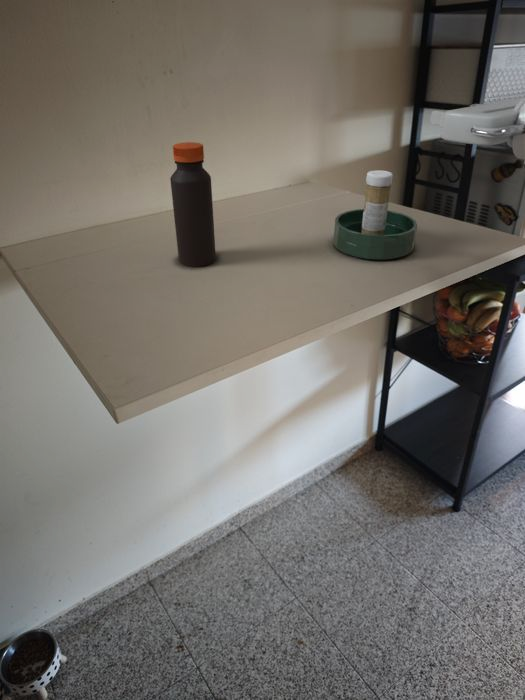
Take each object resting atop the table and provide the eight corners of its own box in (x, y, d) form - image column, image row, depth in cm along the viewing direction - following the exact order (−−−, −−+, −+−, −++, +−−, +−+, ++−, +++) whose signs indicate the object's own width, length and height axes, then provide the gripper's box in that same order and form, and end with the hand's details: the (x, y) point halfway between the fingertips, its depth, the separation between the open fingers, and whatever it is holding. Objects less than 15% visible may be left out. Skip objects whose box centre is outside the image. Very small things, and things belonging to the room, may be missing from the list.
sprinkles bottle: (366, 238, 99) (374, 168, 91) (387, 243, 97) (397, 171, 89) (355, 245, 96) (362, 173, 88) (376, 250, 94) (386, 177, 86)
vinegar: (223, 260, 92) (217, 145, 81) (193, 271, 88) (182, 151, 77) (201, 250, 96) (192, 139, 85) (171, 259, 92) (158, 145, 81)
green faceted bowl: (393, 230, 104) (397, 206, 101) (426, 258, 92) (431, 232, 89) (323, 235, 102) (325, 211, 99) (347, 265, 89) (350, 238, 87)
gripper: (494, 162, 62) (405, 144, 72) (570, 141, 73) (484, 128, 82) (507, 107, 59) (412, 95, 68) (586, 93, 69) (494, 85, 78)
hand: (452, 113), depth 75 cm, fingers open, 8 cm apart
